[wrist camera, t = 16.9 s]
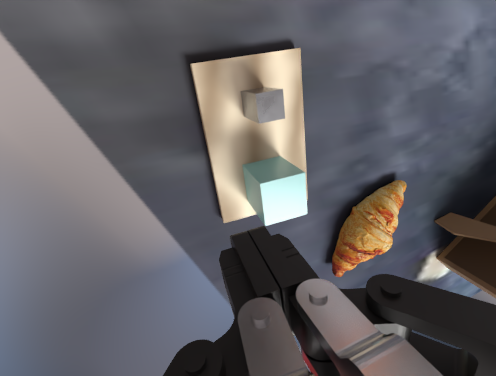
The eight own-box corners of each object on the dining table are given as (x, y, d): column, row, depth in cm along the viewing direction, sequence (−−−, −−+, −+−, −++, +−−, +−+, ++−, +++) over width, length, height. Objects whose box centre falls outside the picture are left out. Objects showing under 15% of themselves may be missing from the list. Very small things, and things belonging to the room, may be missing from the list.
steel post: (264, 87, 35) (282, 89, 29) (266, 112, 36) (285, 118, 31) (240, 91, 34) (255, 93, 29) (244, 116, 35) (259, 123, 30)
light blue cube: (280, 156, 39) (305, 172, 32) (283, 191, 41) (307, 213, 35) (242, 164, 38) (260, 183, 31) (247, 201, 40) (265, 226, 33)
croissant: (372, 165, 51) (389, 167, 43) (418, 192, 51) (444, 199, 43) (311, 254, 54) (317, 271, 47) (354, 281, 54) (367, 302, 46)
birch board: (295, 48, 35) (300, 47, 34) (303, 196, 45) (307, 199, 43) (190, 64, 32) (191, 63, 31) (222, 218, 42) (224, 223, 40)
